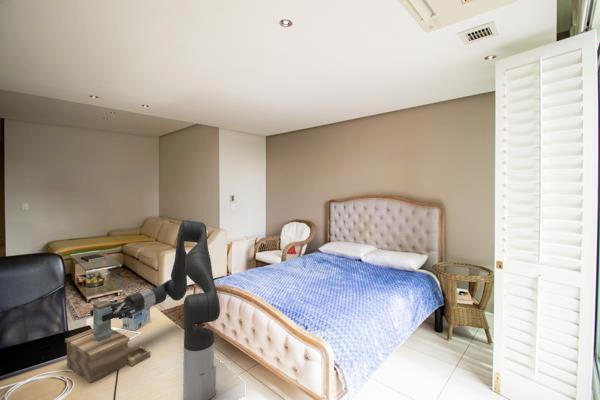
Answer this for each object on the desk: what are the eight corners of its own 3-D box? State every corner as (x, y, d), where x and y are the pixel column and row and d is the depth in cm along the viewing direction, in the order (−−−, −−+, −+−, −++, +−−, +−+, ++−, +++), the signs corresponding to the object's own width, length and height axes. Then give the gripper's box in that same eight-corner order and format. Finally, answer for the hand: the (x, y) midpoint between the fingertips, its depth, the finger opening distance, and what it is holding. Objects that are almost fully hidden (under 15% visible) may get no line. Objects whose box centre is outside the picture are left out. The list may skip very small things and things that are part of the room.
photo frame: (110, 326, 131) (141, 332, 126) (110, 328, 131) (141, 334, 126) (78, 342, 117) (112, 350, 112) (78, 345, 117) (111, 352, 112)
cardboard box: (150, 356, 109) (150, 331, 109) (93, 386, 92) (93, 356, 92) (121, 341, 120) (121, 318, 119) (64, 366, 102) (64, 338, 102)
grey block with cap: (111, 336, 104) (111, 302, 104) (98, 342, 101) (99, 306, 100) (105, 333, 106) (105, 300, 106) (93, 338, 103) (93, 304, 102)
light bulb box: (133, 331, 128) (134, 308, 128) (121, 329, 129) (121, 307, 129) (150, 321, 139) (151, 299, 138) (139, 319, 140) (139, 298, 140)
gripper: (130, 289, 119) (86, 301, 105) (150, 296, 112) (106, 310, 98) (130, 306, 119) (86, 321, 105) (150, 314, 112) (106, 331, 98)
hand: (96, 316), depth 101 cm, fingers open, 8 cm apart
